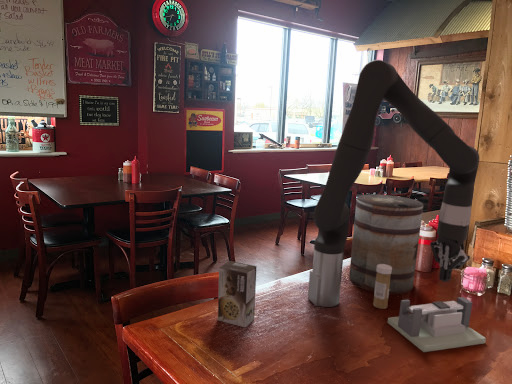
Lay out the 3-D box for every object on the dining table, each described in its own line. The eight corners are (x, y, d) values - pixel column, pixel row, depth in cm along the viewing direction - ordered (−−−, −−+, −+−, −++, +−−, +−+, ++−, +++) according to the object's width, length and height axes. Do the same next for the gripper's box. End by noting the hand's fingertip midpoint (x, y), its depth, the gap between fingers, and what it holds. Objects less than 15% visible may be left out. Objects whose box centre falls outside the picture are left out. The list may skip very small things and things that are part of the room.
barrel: (424, 283, 157) (434, 203, 151) (393, 300, 141) (404, 211, 136) (369, 265, 173) (377, 192, 167) (336, 279, 157) (344, 198, 151)
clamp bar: (414, 315, 116) (415, 311, 116) (406, 309, 119) (406, 305, 119) (462, 308, 121) (463, 304, 120) (453, 303, 124) (454, 299, 124)
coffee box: (255, 318, 124) (257, 265, 121) (245, 328, 119) (247, 273, 116) (227, 311, 128) (229, 259, 125) (216, 320, 122) (218, 266, 119)
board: (423, 352, 111) (427, 319, 109) (386, 322, 126) (390, 292, 124) (485, 343, 117) (490, 311, 115) (443, 315, 132) (447, 287, 130)
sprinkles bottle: (390, 307, 136) (395, 267, 133) (380, 310, 134) (385, 269, 131) (379, 301, 140) (383, 262, 137) (369, 304, 137) (373, 264, 135)
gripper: (426, 214, 121) (417, 272, 124) (461, 227, 108) (450, 291, 112) (447, 213, 123) (438, 270, 126) (484, 227, 111) (473, 289, 114)
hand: (444, 280), depth 119 cm, fingers closed
